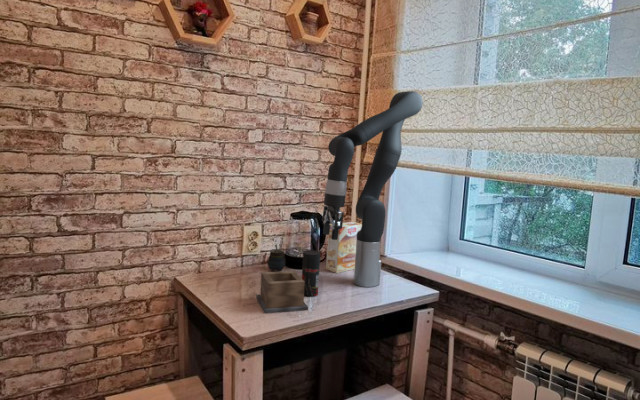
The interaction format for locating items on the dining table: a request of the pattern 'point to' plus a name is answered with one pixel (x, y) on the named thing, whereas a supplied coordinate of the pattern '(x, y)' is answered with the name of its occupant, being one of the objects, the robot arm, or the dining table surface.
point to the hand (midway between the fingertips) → (330, 236)
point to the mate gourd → (276, 260)
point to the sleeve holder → (281, 292)
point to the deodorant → (311, 272)
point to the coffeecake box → (342, 248)
